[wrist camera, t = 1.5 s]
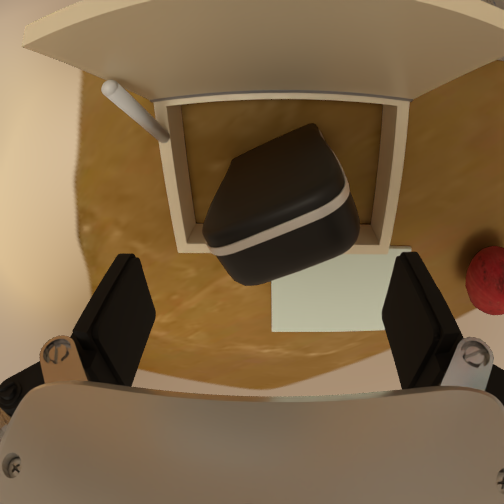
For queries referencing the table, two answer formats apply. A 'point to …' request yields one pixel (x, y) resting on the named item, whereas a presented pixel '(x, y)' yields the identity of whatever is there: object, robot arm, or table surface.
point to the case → (272, 69)
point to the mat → (335, 294)
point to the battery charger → (282, 209)
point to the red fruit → (487, 280)
